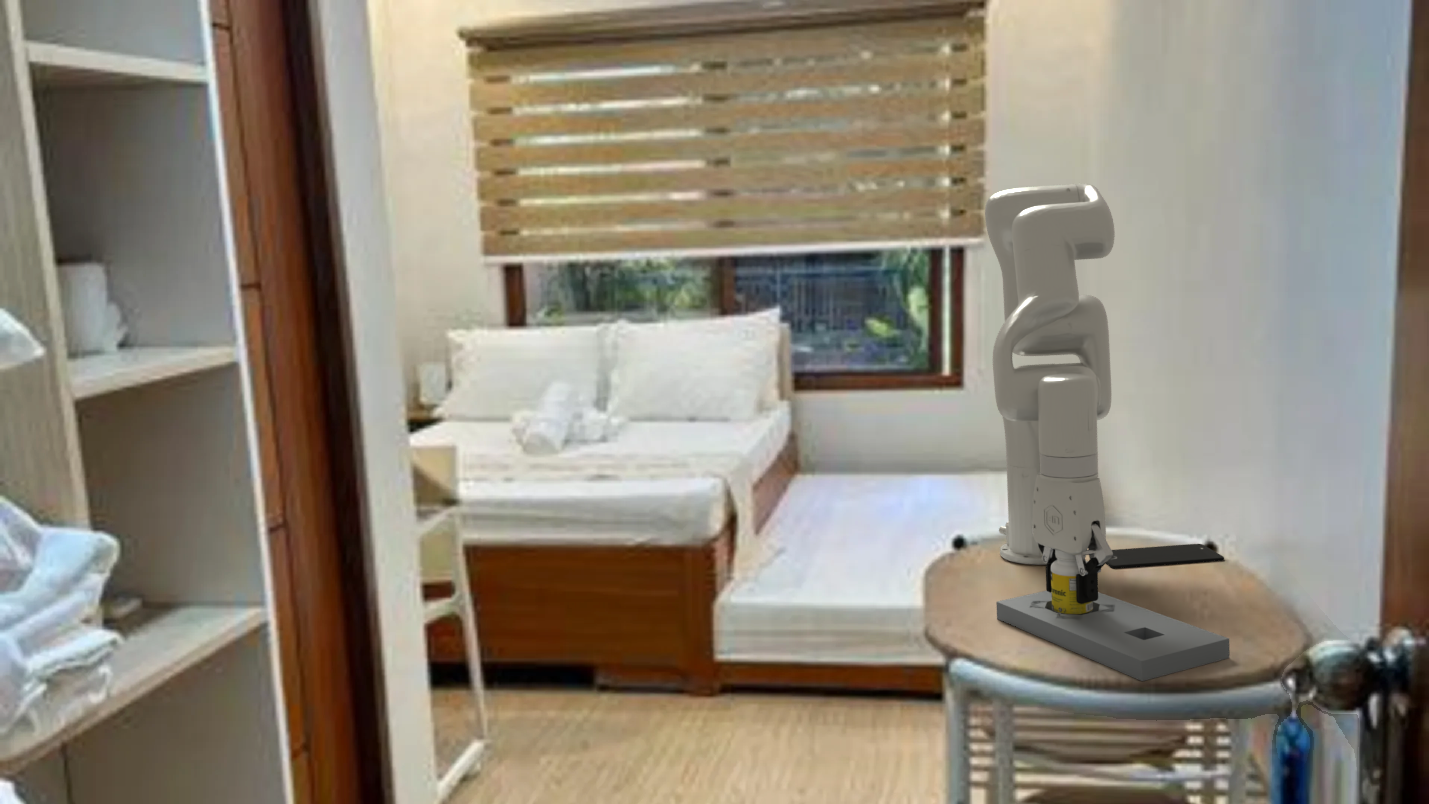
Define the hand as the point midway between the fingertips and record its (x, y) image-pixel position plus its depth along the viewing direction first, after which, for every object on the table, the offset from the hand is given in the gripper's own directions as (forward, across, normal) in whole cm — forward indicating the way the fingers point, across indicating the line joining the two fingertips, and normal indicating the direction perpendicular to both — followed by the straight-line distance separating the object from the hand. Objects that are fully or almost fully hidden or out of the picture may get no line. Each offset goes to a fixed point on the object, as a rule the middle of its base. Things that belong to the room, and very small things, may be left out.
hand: (1071, 594), depth 164 cm
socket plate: (+4, +7, 0) cm, 8 cm away
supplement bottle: (+3, 0, 0) cm, 3 cm away
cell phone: (+5, -17, +32) cm, 37 cm away
